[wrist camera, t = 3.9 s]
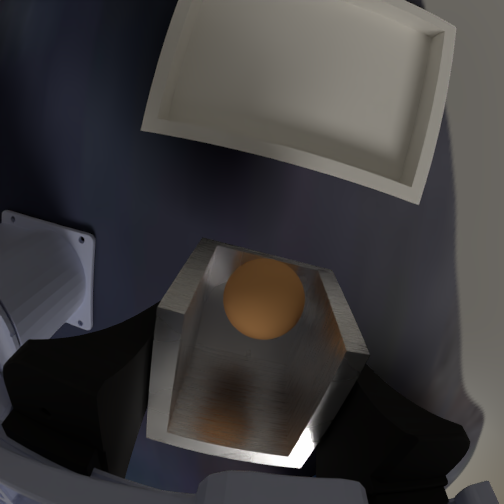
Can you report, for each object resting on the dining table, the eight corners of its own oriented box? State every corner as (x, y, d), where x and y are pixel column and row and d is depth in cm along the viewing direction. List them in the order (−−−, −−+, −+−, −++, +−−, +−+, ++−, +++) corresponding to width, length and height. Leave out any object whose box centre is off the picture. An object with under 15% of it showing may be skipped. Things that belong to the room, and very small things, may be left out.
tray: (155, 131, 18) (140, 130, 16) (205, -32, 14) (198, -50, 12) (402, 197, 19) (418, 205, 17) (438, 36, 15) (456, 27, 13)
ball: (210, 346, 11) (230, 282, 10) (219, 293, 14) (237, 234, 12) (289, 362, 12) (323, 305, 10) (286, 309, 14) (312, 254, 13)
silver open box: (182, 344, 15) (146, 437, 9) (202, 237, 13) (157, 306, 8) (292, 370, 15) (300, 468, 10) (331, 270, 14) (370, 354, 8)
